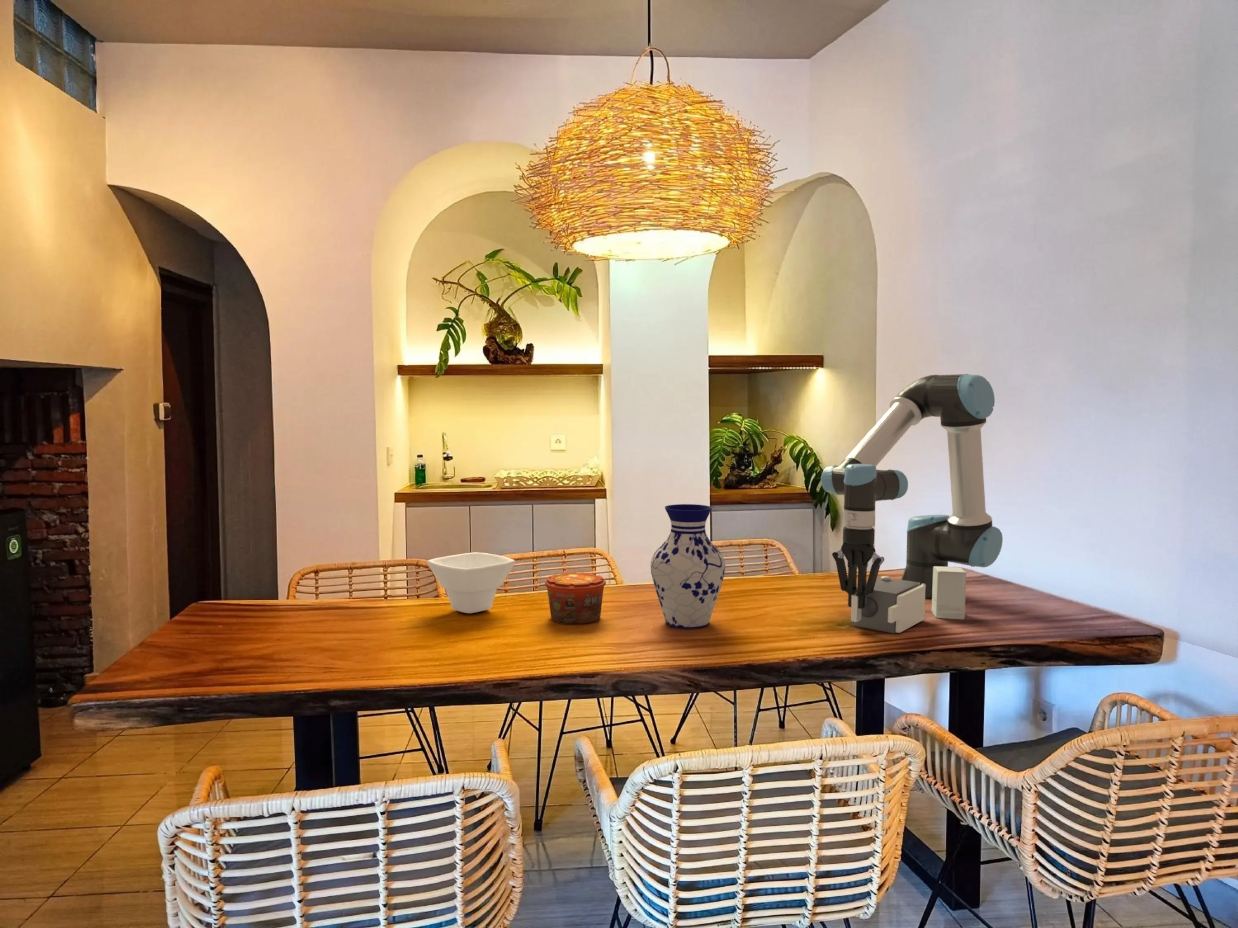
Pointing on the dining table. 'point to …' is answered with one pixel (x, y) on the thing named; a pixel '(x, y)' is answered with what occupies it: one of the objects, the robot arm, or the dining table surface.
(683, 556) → the vase
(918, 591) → the side door
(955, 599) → the supplement box
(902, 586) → the camera box
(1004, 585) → the dining table surface
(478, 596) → the bowl
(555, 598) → the food container
